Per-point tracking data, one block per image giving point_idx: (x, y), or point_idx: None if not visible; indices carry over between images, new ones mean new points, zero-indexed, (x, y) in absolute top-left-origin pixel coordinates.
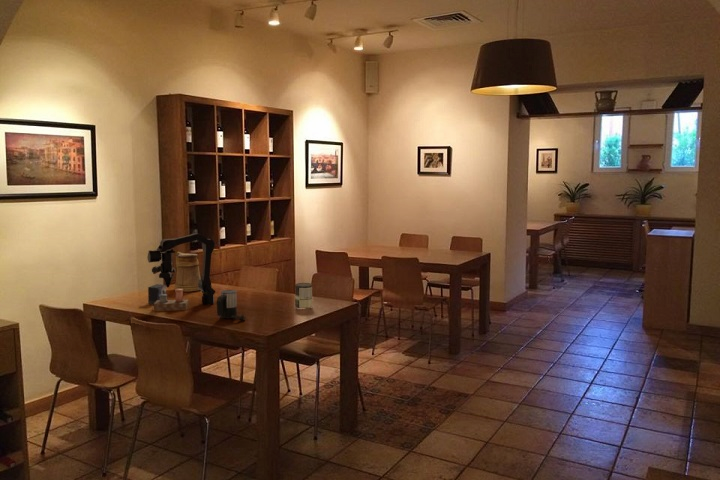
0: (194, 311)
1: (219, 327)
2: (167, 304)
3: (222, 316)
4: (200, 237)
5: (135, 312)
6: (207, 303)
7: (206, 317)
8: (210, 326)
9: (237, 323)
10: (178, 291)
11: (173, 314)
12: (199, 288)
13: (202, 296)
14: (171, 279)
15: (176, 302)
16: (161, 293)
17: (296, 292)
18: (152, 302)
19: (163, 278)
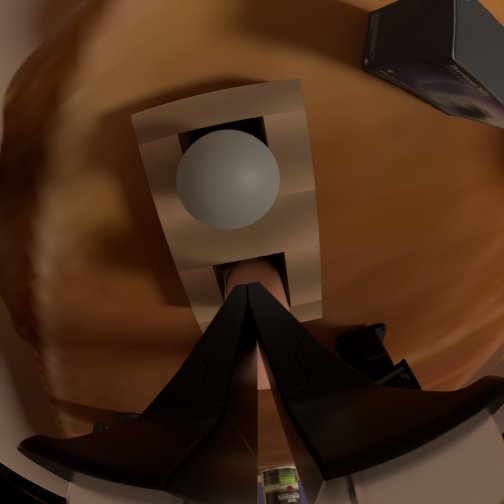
0: (187, 347)
1: (56, 407)
2: (164, 225)
3: (120, 422)
4: None
5: (95, 26)
6: (339, 355)
7: (114, 389)
8: (49, 395)
9: None
10: None
11: (96, 278)
12: (397, 383)
13: (365, 362)
14: (256, 450)
15: (230, 274)
16: (452, 96)
17: (271, 497)
18: (372, 35)
19: (113, 428)
